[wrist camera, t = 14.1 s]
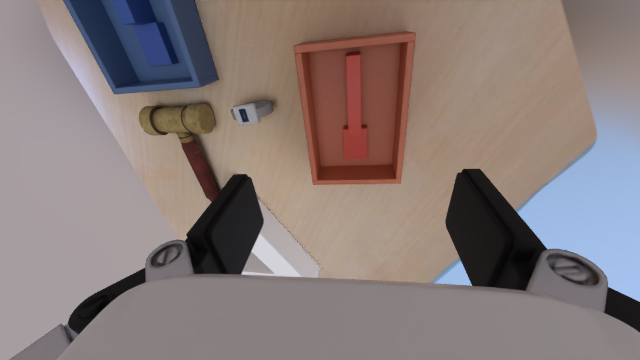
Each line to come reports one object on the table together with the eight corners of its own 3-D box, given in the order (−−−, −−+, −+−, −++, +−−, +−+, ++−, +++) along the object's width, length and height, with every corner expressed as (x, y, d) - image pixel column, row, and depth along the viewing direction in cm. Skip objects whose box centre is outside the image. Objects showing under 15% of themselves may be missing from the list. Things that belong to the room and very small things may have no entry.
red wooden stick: (339, 53, 32) (337, 56, 28) (367, 50, 31) (368, 53, 28) (344, 154, 40) (343, 166, 36) (366, 153, 39) (367, 165, 36)
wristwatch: (273, 93, 36) (263, 102, 32) (278, 111, 38) (269, 122, 33) (236, 99, 37) (222, 108, 33) (242, 116, 39) (229, 127, 35)
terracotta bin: (301, 42, 32) (293, 45, 28) (407, 31, 30) (415, 32, 26) (317, 168, 42) (312, 184, 38) (396, 166, 40) (400, 183, 36)
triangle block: (235, 173, 45) (220, 192, 40) (352, 229, 50) (352, 254, 44) (204, 257, 61) (189, 279, 56) (294, 294, 66) (289, 318, 60)
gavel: (236, 214, 47) (190, 213, 48) (245, 198, 50) (201, 198, 52) (193, 109, 34) (132, 112, 36) (208, 99, 38) (153, 102, 39)
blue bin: (56, -90, 28) (2, -111, 23) (159, -115, 26) (120, -143, 21) (140, 86, 38) (114, 94, 34) (218, 79, 36) (200, 87, 32)
